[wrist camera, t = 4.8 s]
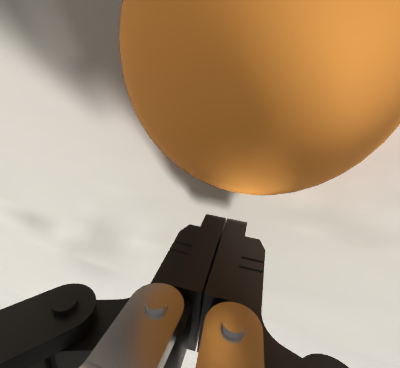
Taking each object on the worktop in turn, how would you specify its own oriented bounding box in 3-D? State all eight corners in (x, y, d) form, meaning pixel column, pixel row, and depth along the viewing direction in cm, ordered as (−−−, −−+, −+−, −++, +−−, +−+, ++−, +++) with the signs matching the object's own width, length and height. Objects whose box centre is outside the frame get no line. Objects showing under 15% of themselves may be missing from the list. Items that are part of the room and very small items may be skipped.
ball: (325, 226, 8) (336, 55, 9) (653, 180, 2) (564, -252, 4) (130, 193, 8) (167, 29, 10) (-29, 70, 2) (123, -309, 4)
